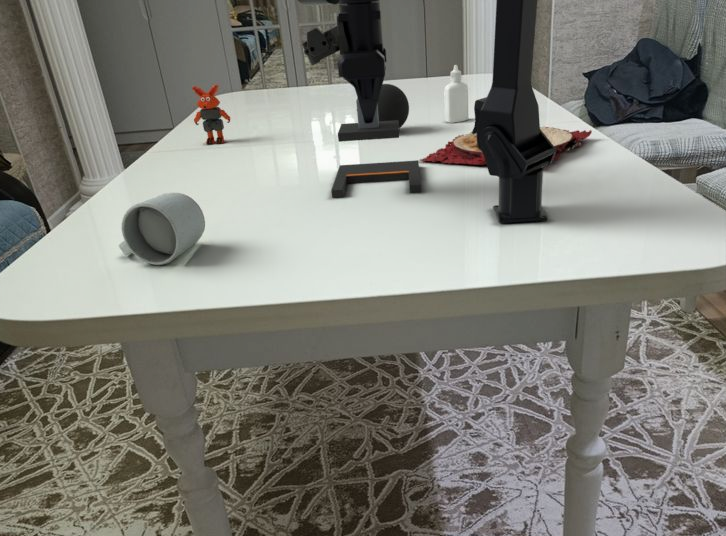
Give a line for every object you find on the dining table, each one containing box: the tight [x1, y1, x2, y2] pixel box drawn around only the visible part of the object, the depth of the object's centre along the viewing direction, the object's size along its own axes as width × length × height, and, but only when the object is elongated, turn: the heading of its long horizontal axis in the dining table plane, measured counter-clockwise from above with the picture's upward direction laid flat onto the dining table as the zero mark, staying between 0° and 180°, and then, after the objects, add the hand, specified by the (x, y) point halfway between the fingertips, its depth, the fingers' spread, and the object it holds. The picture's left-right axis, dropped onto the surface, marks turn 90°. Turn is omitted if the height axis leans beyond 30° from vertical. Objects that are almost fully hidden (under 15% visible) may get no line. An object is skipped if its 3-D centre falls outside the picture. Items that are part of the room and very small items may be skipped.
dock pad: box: [331, 159, 422, 199], centre depth 106 cm, size 16×14×1 cm
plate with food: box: [419, 126, 593, 166], centre depth 119 cm, size 24×26×4 cm
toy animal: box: [191, 83, 231, 146], centre depth 140 cm, size 8×6×12 cm
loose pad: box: [337, 97, 400, 143], centre depth 96 cm, size 7×9×5 cm
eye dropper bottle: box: [443, 64, 469, 124], centre depth 145 cm, size 4×6×12 cm
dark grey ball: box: [378, 83, 410, 129], centre depth 139 cm, size 10×10×10 cm
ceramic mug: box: [118, 192, 206, 266], centre depth 80 cm, size 11×8×8 cm
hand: (369, 120), depth 96 cm, fingers closed on loose pad, 3 cm apart
